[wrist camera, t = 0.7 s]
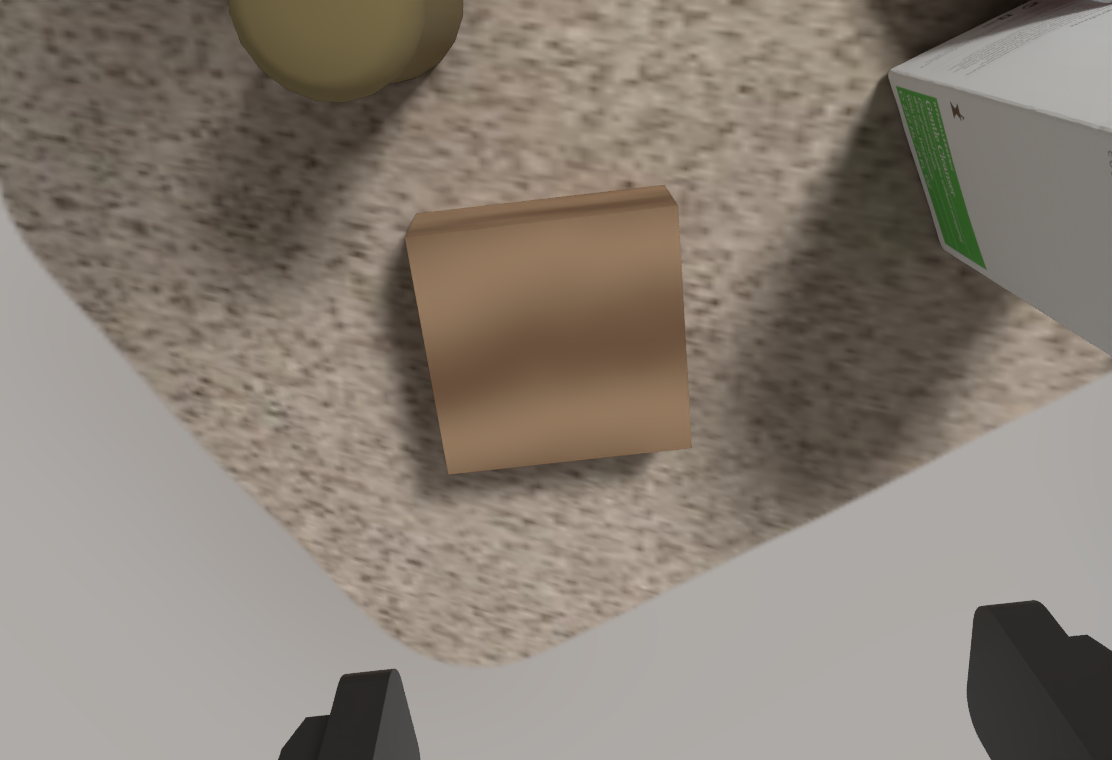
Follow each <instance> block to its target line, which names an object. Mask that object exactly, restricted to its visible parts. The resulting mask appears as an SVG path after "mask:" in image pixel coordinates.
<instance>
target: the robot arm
mask: <svg viewBox="0 0 1112 760" xmlns="http://www.w3.org/2000/svg"><path fill="white" fill-rule="evenodd" d="M967 701H968V708H969V712H970V716H971V719H972V723H973V726H974V728H975V731H976V733H977V735H978V737H979V739H980V741H981V743H982V744H983V746H984V748H985V749H986V752H987V753H988V755H989V757H990V759H991V760H1112V651H1111V650H1109V649H1108V648H1106V647H1105V646H1103V645H1102V644H1100V643H1099V642H1097V641H1096V640H1094V639H1093V638H1091V637H1090V636H1088V635H1080V636H1071V637H1069V636H1068V635H1067V634H1066V633H1065V631H1064V630H1063V629H1062V627H1061V626H1060V625H1059V624H1058V622H1057V621H1056V620H1055V619H1054V617H1053V616H1052V615H1051V614H1050V612H1049V611H1048V610H1047V608H1046V607H1045V606H1044V605H1043V604H1041V603H1040V602H1038V601H1035V600H1032V601H1023V602H1014V603H1005V604H996V605H986V606H980V607H978V608H977V609H976V611H975V614H974V619H973V629H972V639H971V650H970V660H969V672H968V681H967ZM278 760H420V753H419V747H418V743H417V739H416V735H415V731H414V727H413V723H412V720H411V716H410V711H409V708H408V704H407V700H406V696H405V692H404V689H403V684H402V681H401V677H400V674H399V672H398V671H397V670H396V669H387V670H378V671H369V672H360V673H351V674H344V675H343V676H342V677H341V678H340V681H339V684H338V687H337V691H336V695H335V698H334V702H333V706H332V710H331V713H330V715H325V716H315V717H307V718H305V720H304V721H303V722H302V723H301V725H300V726H299V727H298V729H297V730H296V731H295V733H294V734H293V735H292V736H291V738H290V739H289V740H288V742H287V743H286V744H285V746H284V747H283V748H282V750H281V753H280V756H279V759H278Z"/></svg>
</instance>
